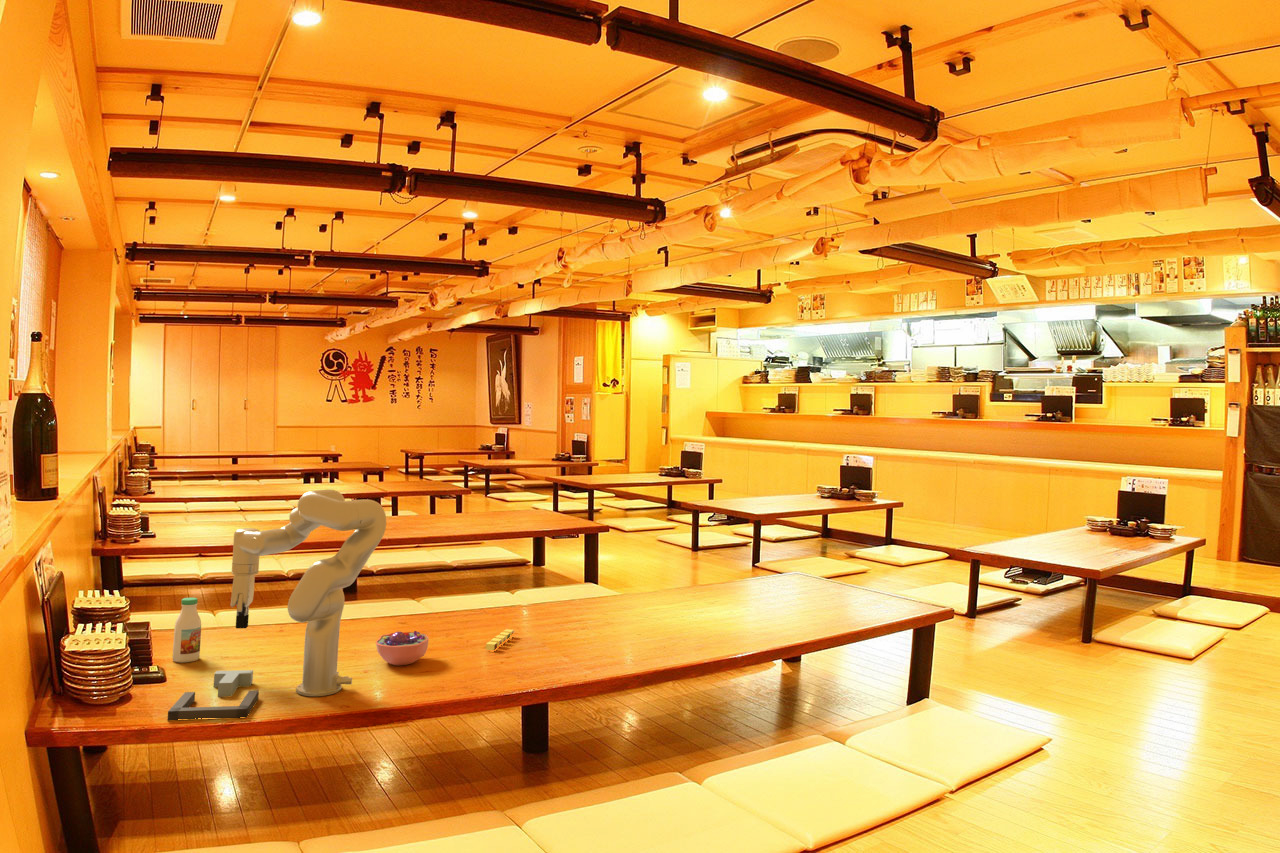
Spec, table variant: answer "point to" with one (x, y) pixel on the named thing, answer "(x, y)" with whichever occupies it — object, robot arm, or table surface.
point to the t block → (231, 681)
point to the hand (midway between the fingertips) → (241, 627)
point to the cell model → (402, 647)
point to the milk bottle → (187, 633)
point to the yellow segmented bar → (499, 639)
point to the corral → (211, 708)
